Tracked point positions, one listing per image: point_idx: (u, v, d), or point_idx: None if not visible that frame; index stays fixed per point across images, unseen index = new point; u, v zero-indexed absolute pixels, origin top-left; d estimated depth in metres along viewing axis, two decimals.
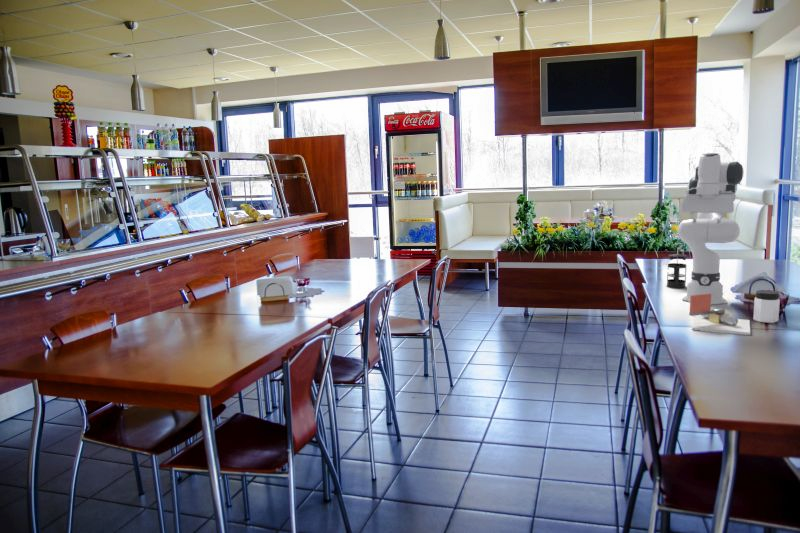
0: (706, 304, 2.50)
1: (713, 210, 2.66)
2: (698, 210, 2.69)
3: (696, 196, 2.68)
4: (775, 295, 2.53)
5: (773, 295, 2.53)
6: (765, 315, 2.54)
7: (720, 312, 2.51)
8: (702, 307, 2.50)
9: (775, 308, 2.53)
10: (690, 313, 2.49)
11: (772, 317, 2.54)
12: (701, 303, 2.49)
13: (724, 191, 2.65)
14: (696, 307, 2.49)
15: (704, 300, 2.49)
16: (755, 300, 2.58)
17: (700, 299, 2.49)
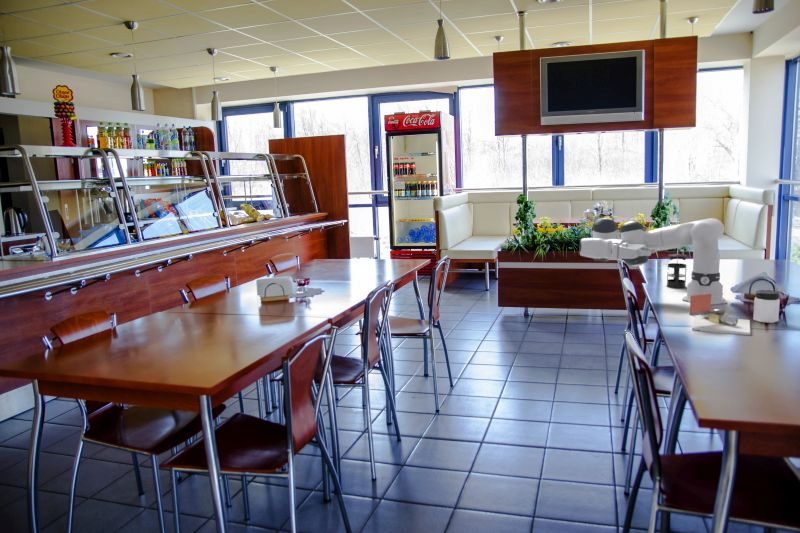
0: (706, 304, 2.50)
1: (640, 246, 2.60)
2: (637, 247, 2.55)
3: (622, 244, 2.57)
4: (775, 295, 2.53)
5: (773, 295, 2.53)
6: (765, 315, 2.55)
7: (720, 312, 2.51)
8: (702, 307, 2.50)
9: (775, 308, 2.53)
10: (690, 313, 2.49)
11: (772, 317, 2.54)
12: (701, 303, 2.49)
13: None
14: (696, 307, 2.49)
15: (704, 300, 2.49)
16: (755, 300, 2.58)
17: (700, 299, 2.49)
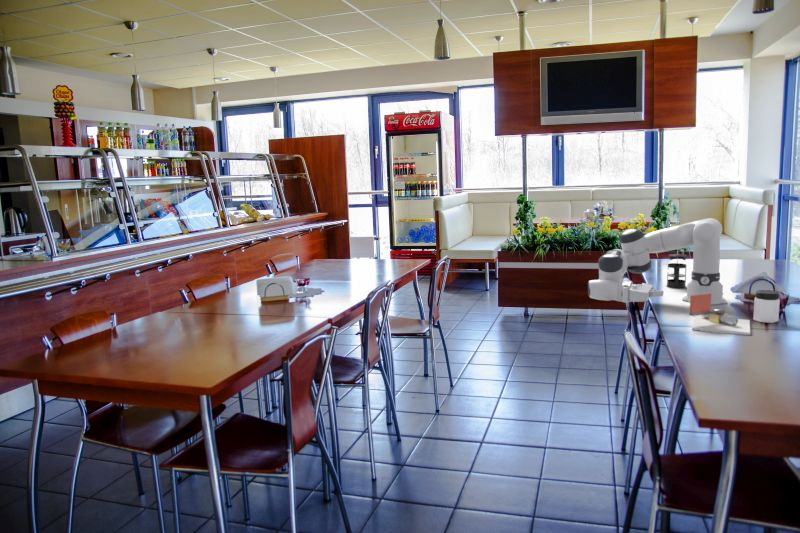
0: (706, 304, 2.50)
1: (649, 287, 2.59)
2: (647, 289, 2.54)
3: (632, 286, 2.55)
4: (775, 295, 2.53)
5: (773, 295, 2.53)
6: (765, 315, 2.54)
7: (720, 312, 2.51)
8: (702, 307, 2.50)
9: (775, 308, 2.53)
10: (690, 313, 2.49)
11: (772, 317, 2.54)
12: (701, 303, 2.49)
13: None
14: (696, 307, 2.49)
15: (704, 300, 2.49)
16: (755, 300, 2.58)
17: (700, 299, 2.49)
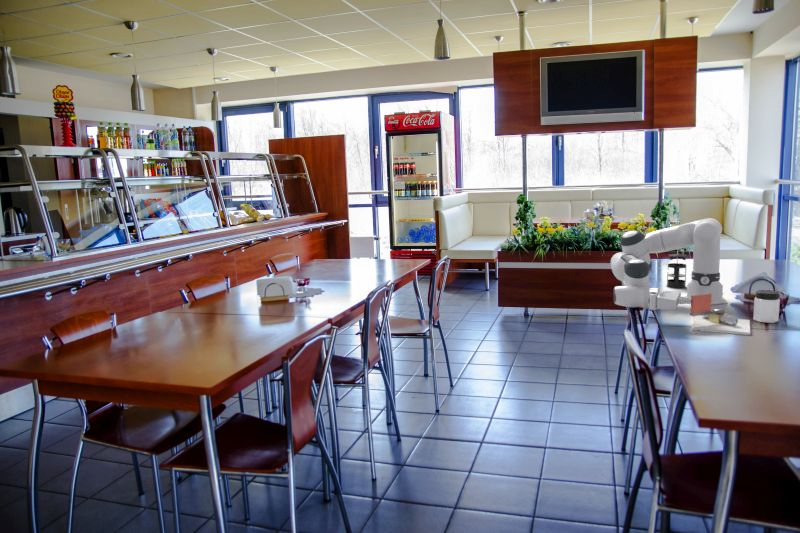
0: (706, 304, 2.50)
1: (677, 294, 2.54)
2: (675, 297, 2.49)
3: (660, 293, 2.50)
4: (775, 295, 2.53)
5: (773, 295, 2.53)
6: (765, 315, 2.55)
7: (720, 312, 2.51)
8: (703, 307, 2.49)
9: (775, 308, 2.53)
10: (691, 313, 2.49)
11: (772, 317, 2.54)
12: (702, 303, 2.49)
13: None
14: (697, 307, 2.48)
15: (705, 300, 2.49)
16: (755, 300, 2.58)
17: (701, 299, 2.48)
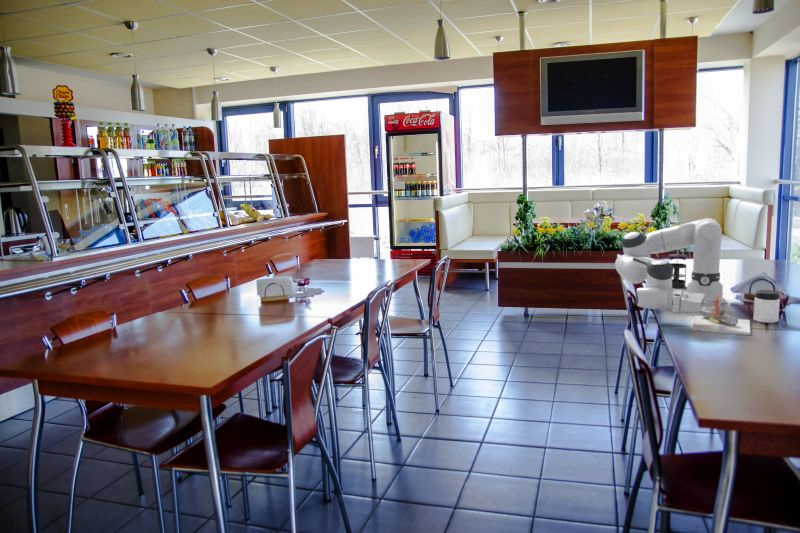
0: None
1: (701, 296, 2.49)
2: (700, 299, 2.44)
3: (683, 296, 2.45)
4: (775, 295, 2.53)
5: (773, 295, 2.53)
6: (765, 315, 2.54)
7: (723, 312, 2.51)
8: (719, 309, 2.45)
9: (775, 308, 2.53)
10: (715, 317, 2.41)
11: (772, 317, 2.54)
12: (719, 306, 2.44)
13: None
14: None
15: None
16: (755, 300, 2.58)
17: (719, 302, 2.43)
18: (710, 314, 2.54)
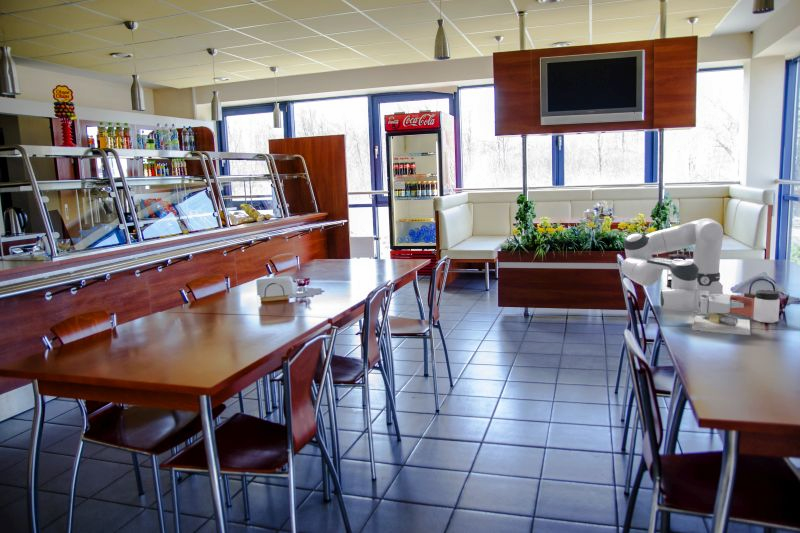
0: None
1: (728, 297, 2.46)
2: (727, 300, 2.41)
3: (711, 297, 2.42)
4: (775, 295, 2.53)
5: (773, 295, 2.53)
6: (765, 315, 2.55)
7: None
8: None
9: (775, 308, 2.53)
10: (751, 317, 2.41)
11: (772, 317, 2.54)
12: None
13: None
14: None
15: None
16: (755, 300, 2.58)
17: None
18: (710, 314, 2.54)
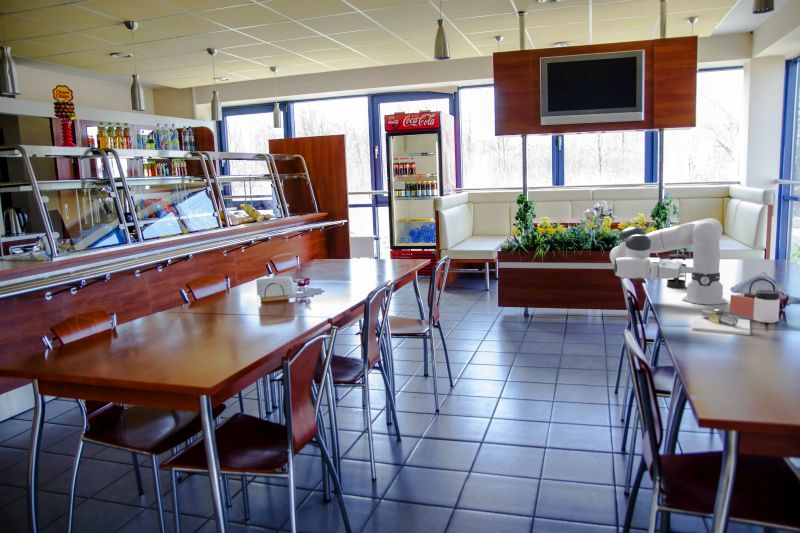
0: None
1: (678, 264, 2.52)
2: (677, 266, 2.47)
3: (661, 263, 2.48)
4: (775, 295, 2.53)
5: (773, 295, 2.53)
6: (765, 315, 2.54)
7: None
8: None
9: (775, 308, 2.53)
10: (751, 317, 2.41)
11: (772, 317, 2.54)
12: None
13: None
14: None
15: None
16: (755, 300, 2.58)
17: None
18: (710, 314, 2.54)
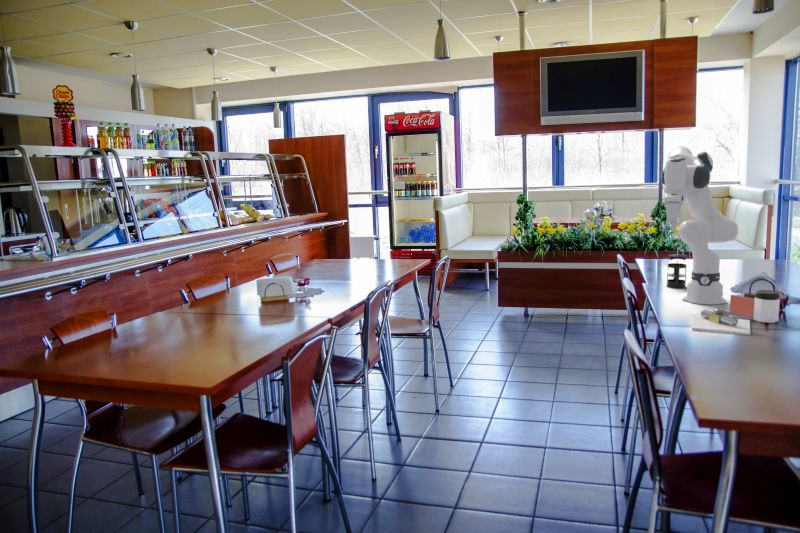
0: None
1: (679, 216, 2.65)
2: None
3: None
4: (775, 295, 2.53)
5: (773, 295, 2.53)
6: (765, 315, 2.54)
7: None
8: None
9: (775, 308, 2.53)
10: (751, 317, 2.41)
11: (772, 317, 2.54)
12: None
13: None
14: None
15: None
16: (755, 300, 2.58)
17: None
18: (710, 314, 2.54)
